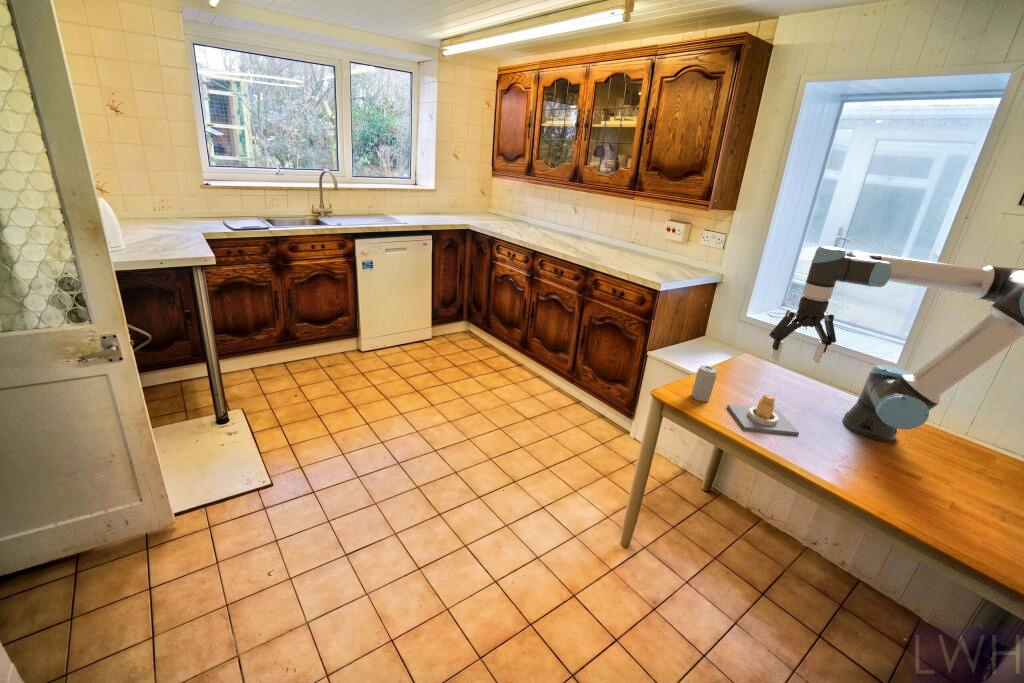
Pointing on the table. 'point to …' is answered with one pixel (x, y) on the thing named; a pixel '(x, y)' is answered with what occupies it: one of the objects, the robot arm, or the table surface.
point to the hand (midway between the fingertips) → (795, 360)
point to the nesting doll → (765, 407)
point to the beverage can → (704, 383)
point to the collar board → (760, 427)
